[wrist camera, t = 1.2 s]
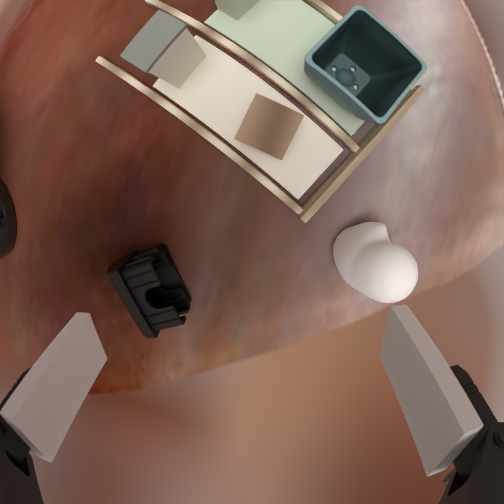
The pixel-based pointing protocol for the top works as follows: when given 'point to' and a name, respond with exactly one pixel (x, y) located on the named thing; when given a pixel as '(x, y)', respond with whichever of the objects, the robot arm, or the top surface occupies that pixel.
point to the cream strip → (225, 98)
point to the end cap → (151, 289)
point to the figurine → (375, 263)
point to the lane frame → (357, 151)
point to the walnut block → (269, 126)
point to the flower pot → (364, 65)
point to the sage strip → (282, 44)
